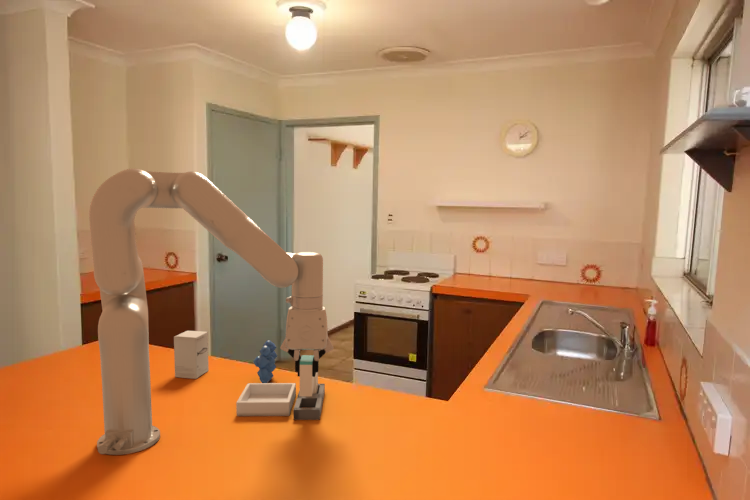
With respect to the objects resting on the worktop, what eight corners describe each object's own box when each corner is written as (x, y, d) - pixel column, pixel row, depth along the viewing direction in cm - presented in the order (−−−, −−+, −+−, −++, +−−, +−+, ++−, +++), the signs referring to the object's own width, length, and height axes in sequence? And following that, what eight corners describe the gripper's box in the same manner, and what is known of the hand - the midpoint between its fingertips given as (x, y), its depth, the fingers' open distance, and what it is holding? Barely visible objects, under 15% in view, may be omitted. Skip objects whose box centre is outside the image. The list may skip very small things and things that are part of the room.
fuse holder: (319, 419, 127) (319, 409, 126) (293, 419, 126) (293, 409, 126) (324, 392, 144) (324, 383, 144) (301, 392, 144) (301, 383, 143)
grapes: (259, 373, 158) (259, 335, 157) (281, 374, 157) (280, 336, 156) (246, 387, 147) (245, 346, 145) (269, 389, 146) (269, 347, 145)
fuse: (316, 402, 137) (316, 369, 136) (305, 402, 137) (304, 370, 136) (318, 394, 142) (317, 363, 141) (307, 394, 142) (306, 363, 141)
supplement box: (196, 379, 153) (195, 337, 152) (174, 377, 155) (172, 336, 153) (209, 371, 160) (208, 331, 159) (187, 369, 162) (186, 329, 160)
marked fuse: (311, 396, 127) (312, 361, 127) (299, 396, 127) (299, 361, 126) (313, 388, 132) (313, 355, 132) (301, 388, 132) (302, 355, 131)
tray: (289, 415, 129) (289, 402, 128) (236, 416, 128) (236, 402, 128) (295, 395, 141) (295, 383, 141) (248, 395, 141) (247, 383, 141)
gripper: (271, 305, 124) (271, 379, 125) (339, 306, 124) (338, 380, 126) (276, 298, 131) (276, 369, 133) (341, 299, 131) (340, 370, 133)
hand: (306, 374), depth 129 cm, fingers closed on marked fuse, 3 cm apart
